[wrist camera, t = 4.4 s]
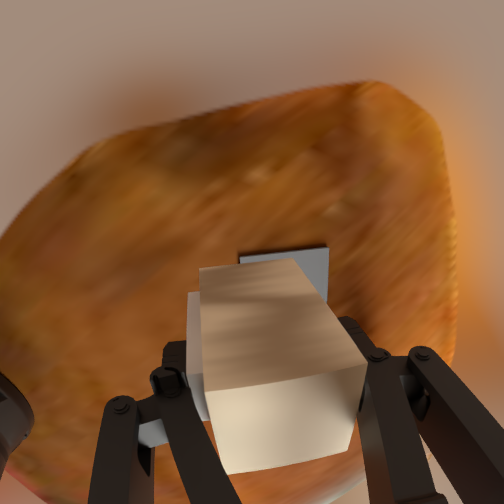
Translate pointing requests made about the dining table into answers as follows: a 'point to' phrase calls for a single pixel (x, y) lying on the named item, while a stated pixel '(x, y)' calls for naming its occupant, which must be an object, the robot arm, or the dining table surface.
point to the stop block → (275, 367)
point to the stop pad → (303, 265)
